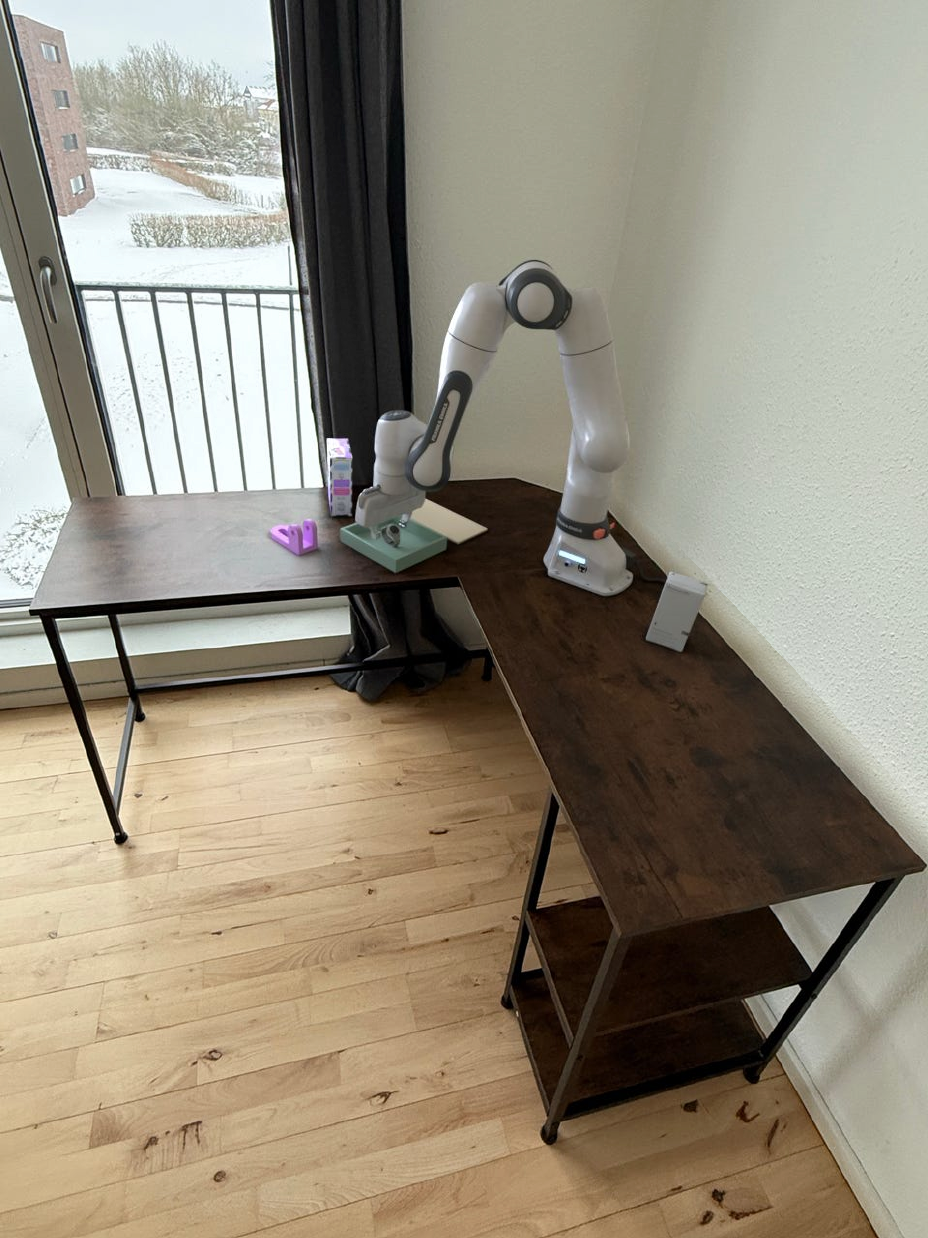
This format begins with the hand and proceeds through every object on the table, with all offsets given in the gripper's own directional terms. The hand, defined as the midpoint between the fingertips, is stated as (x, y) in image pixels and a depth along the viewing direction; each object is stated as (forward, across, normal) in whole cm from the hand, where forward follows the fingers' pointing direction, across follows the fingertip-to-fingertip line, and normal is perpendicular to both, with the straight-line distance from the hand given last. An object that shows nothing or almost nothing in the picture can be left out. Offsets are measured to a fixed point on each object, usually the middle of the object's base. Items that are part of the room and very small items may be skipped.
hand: (389, 532), depth 165 cm
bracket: (+4, -18, +16) cm, 24 cm away
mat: (+3, +19, +1) cm, 19 cm away
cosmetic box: (+3, +17, -68) cm, 70 cm away
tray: (+3, 0, -1) cm, 3 cm away
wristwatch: (+3, 0, 0) cm, 3 cm away
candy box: (+4, +4, +24) cm, 24 cm away
